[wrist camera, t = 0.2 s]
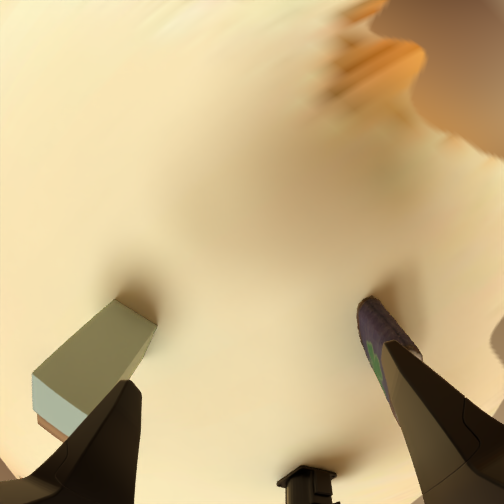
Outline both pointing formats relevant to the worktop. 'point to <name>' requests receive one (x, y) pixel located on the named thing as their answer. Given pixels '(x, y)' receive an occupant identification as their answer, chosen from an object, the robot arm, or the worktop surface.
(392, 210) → the worktop surface
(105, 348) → the tall block
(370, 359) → the flask
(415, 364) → the robot arm
